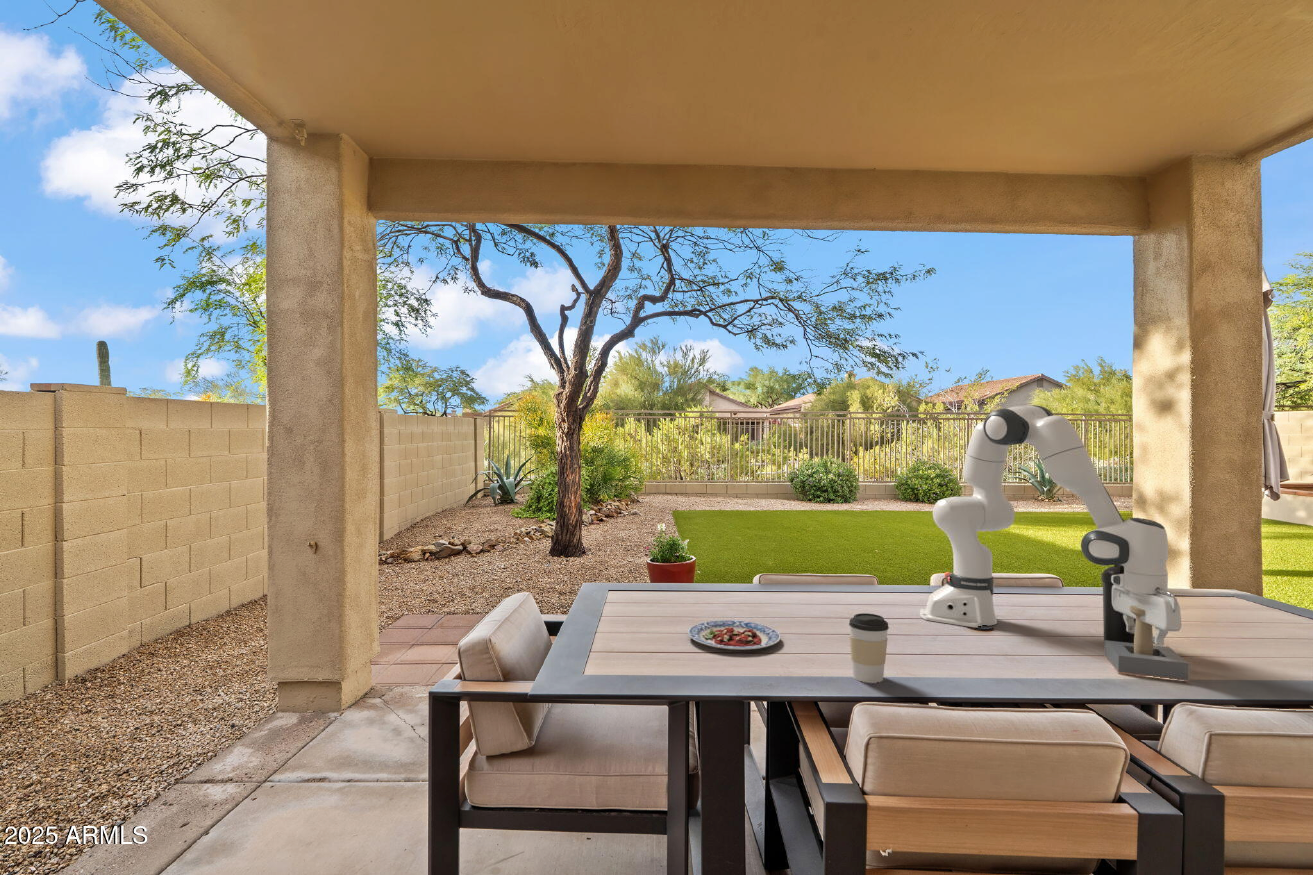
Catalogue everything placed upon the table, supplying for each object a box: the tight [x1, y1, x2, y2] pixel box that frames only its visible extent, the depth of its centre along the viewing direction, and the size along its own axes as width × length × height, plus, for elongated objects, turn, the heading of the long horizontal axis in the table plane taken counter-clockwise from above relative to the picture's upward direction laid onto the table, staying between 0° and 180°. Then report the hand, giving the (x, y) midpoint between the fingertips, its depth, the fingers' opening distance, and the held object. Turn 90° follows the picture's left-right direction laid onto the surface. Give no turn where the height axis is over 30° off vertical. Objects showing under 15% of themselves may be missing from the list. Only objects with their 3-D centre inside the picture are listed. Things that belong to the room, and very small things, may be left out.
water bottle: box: [1100, 565, 1136, 646], centre depth 183 cm, size 10×10×23 cm
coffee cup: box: [848, 612, 890, 684], centre depth 157 cm, size 9×9×15 cm
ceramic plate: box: [688, 619, 782, 651], centre depth 185 cm, size 26×26×3 cm
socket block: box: [1103, 640, 1189, 682], centre depth 165 cm, size 14×13×4 cm
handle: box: [1130, 605, 1154, 656], centre depth 165 cm, size 5×6×15 cm
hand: (1144, 638), depth 165 cm, fingers open, 8 cm apart
